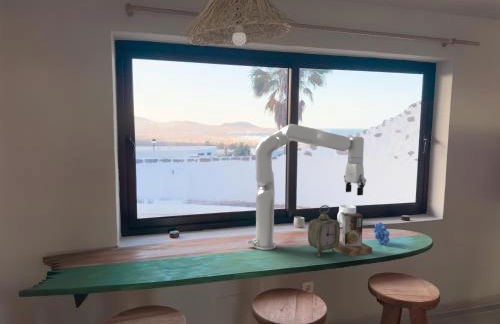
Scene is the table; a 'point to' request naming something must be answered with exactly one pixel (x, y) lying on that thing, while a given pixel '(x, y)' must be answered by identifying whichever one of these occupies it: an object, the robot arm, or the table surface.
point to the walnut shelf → (354, 249)
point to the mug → (345, 211)
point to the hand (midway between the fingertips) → (354, 193)
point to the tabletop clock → (324, 232)
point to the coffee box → (352, 229)
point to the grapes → (381, 233)
